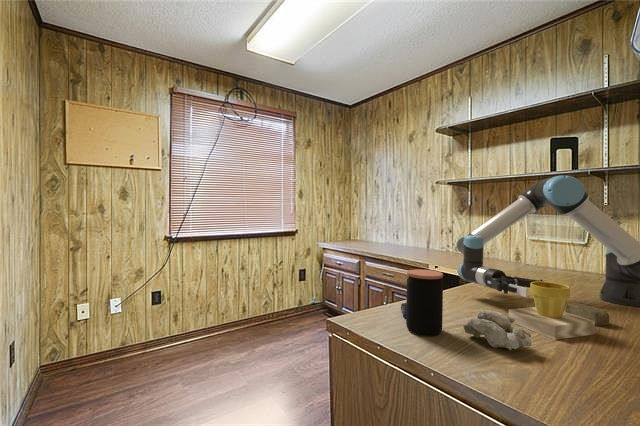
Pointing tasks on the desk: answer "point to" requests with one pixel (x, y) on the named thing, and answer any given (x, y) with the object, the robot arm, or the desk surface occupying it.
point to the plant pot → (550, 298)
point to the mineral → (497, 330)
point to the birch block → (552, 323)
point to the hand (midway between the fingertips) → (543, 291)
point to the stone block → (588, 313)
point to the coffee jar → (424, 302)
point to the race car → (403, 309)
